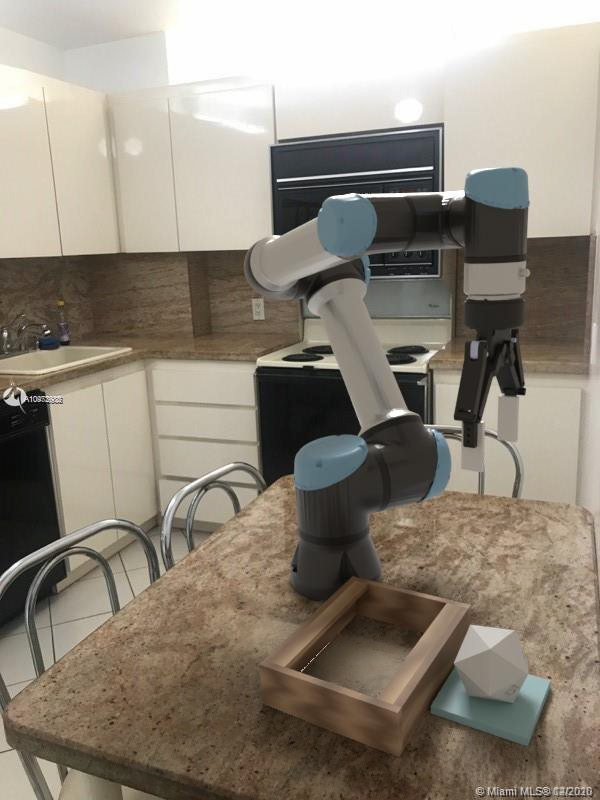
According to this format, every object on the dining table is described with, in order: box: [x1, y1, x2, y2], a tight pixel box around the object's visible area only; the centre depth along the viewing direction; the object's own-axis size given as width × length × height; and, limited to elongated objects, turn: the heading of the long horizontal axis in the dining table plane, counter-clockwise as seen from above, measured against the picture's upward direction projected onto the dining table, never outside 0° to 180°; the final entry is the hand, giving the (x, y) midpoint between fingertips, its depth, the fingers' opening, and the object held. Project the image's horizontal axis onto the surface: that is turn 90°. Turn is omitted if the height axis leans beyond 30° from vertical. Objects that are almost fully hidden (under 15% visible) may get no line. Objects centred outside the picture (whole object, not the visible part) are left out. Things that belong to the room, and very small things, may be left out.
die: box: [454, 624, 529, 703], centre depth 78 cm, size 8×9×10 cm
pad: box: [430, 667, 552, 747], centre depth 79 cm, size 11×11×1 cm
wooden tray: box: [258, 576, 472, 758], centre depth 85 cm, size 18×24×6 cm
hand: (491, 454), depth 89 cm, fingers open, 13 cm apart
